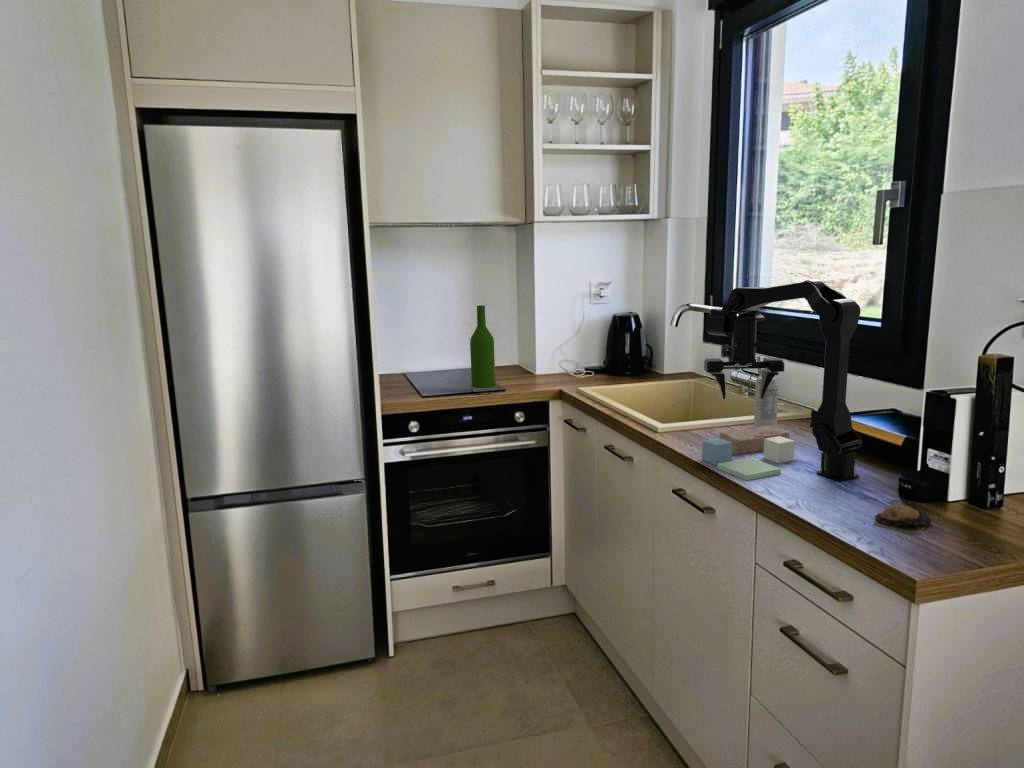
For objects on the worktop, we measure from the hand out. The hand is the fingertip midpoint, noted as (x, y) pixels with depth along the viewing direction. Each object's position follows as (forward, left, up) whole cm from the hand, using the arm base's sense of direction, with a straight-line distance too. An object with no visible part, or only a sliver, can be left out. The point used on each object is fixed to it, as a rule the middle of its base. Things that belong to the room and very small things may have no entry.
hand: (742, 398), depth 179 cm
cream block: (-10, -3, -14) cm, 17 cm away
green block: (-14, +10, -14) cm, 22 cm away
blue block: (-4, +11, -14) cm, 18 cm away
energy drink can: (+13, -20, -14) cm, 27 cm away
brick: (+1, -5, -14) cm, 15 cm away
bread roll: (-51, +6, -14) cm, 54 cm away
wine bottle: (+105, +30, -14) cm, 110 cm away
